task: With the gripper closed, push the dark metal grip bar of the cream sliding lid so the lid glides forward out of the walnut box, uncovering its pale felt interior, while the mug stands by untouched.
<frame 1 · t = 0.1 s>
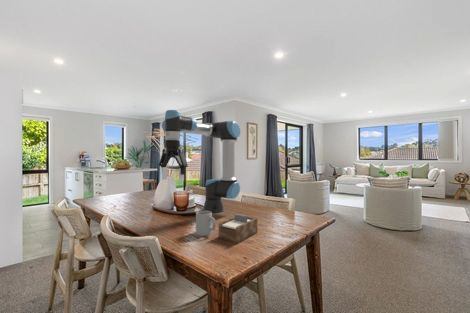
hand: (172, 180, 121), 28 cm above the table, fingers open, 13 cm apart
mug: (206, 234, 120), on the table
box: (238, 235, 118), on the table
lid: (238, 220, 117), point 8 cm above the table, slide at 0.0 cm
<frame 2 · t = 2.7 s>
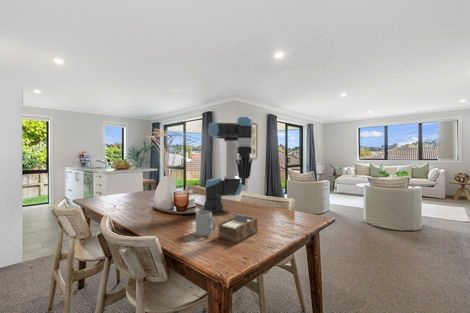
hand: (244, 190, 122), 22 cm above the table, fingers closed
nothing on the table moved.
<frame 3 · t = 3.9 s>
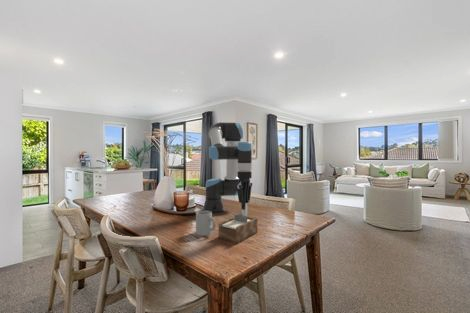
hand: (244, 215, 122), 9 cm above the table, fingers closed
nothing on the table moved.
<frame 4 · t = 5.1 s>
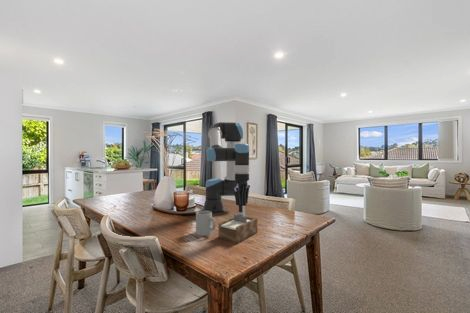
hand: (241, 217, 120), 8 cm above the table, fingers closed
lid: (237, 220, 117), point 8 cm above the table, slide at 0.7 cm, touching gripper
everything else where it was.
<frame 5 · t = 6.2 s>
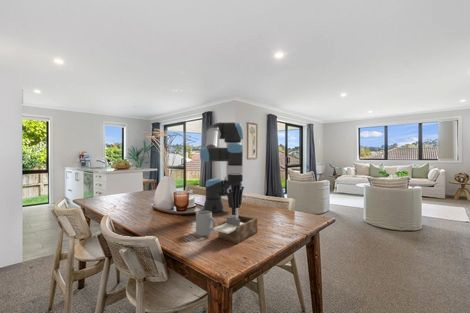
hand: (235, 220, 115), 8 cm above the table, fingers closed
lid: (230, 223, 112), point 8 cm above the table, slide at 6.9 cm, touching gripper
everything else where it was.
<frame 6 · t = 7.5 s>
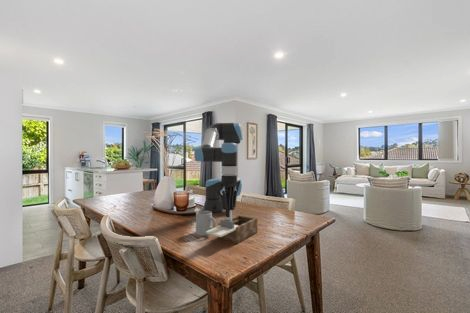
hand: (229, 223, 111), 8 cm above the table, fingers closed
lid: (223, 226, 108), point 8 cm above the table, slide at 11.9 cm, touching gripper
everything else where it was.
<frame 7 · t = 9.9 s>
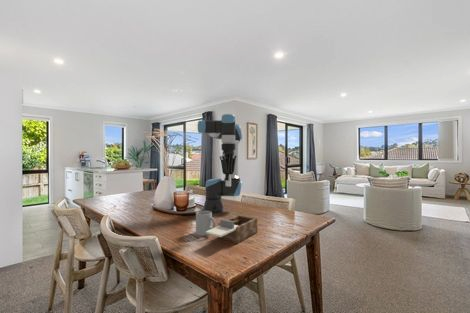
hand: (228, 186, 126), 24 cm above the table, fingers closed
lid: (223, 226, 107), point 8 cm above the table, slide at 12.0 cm
everything else where it was.
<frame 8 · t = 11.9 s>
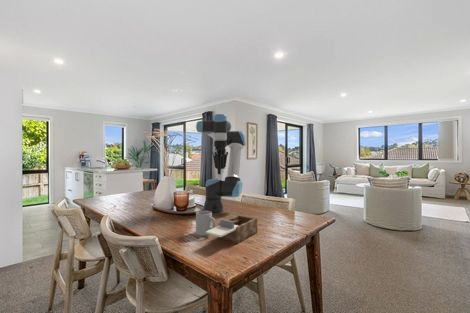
hand: (220, 179, 137), 26 cm above the table, fingers closed
nothing on the table moved.
at the end: lid slide at 12.0 cm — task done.
